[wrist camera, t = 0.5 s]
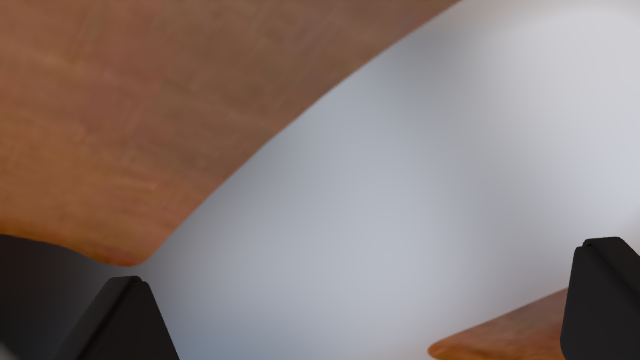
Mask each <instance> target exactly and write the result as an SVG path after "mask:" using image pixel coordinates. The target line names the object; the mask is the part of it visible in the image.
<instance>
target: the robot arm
mask: <svg viewBox="0 0 640 360" xmlns="http://www.w3.org/2000/svg"><path fill="white" fill-rule="evenodd" d="M560 345H561V350H562V353H563V355H564V357H565V359H566V360H640V256H639V255H638V254H637V253H636V252H635V251H634V250H633V249H632V248H631V247H630V246H629V245H628V244H627V243H626V242H625V241H624V240H623V239H621V238H620V237H604V238H592V239H586V240H585V241H584V242H583V245H582V246H581V247H577V248H576V249H575V252H574V257H573V263H572V270H571V276H570V282H569V288H568V294H567V300H566V306H565V312H564V318H563V325H562V331H561V337H560ZM50 360H180V359H179V357H178V355H177V352H176V350H175V347H174V345H173V343H172V340H171V338H170V335H169V333H168V330H167V328H166V326H165V323H164V320H163V318H162V316H161V313H160V311H159V308H158V306H157V304H156V301H155V298H154V296H153V294H152V291H151V289H150V286H149V285H148V283H147V282H143V281H142V280H141V278H140V277H138V276H126V277H113V278H111V279H109V280H108V281H107V282H106V283H105V285H104V286H103V287H102V289H101V290H100V292H99V293H98V294H97V296H96V297H95V298H94V300H93V301H92V302H91V304H90V305H89V307H88V308H87V309H86V311H85V312H84V314H83V315H82V316H81V317H80V319H79V320H78V321H77V323H76V324H75V326H74V327H73V328H72V330H71V331H70V332H69V334H68V335H67V336H66V338H65V339H64V341H63V342H62V343H61V345H60V346H59V347H58V349H57V350H56V351H55V353H54V354H53V355H52V357H51V358H50Z"/></svg>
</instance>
